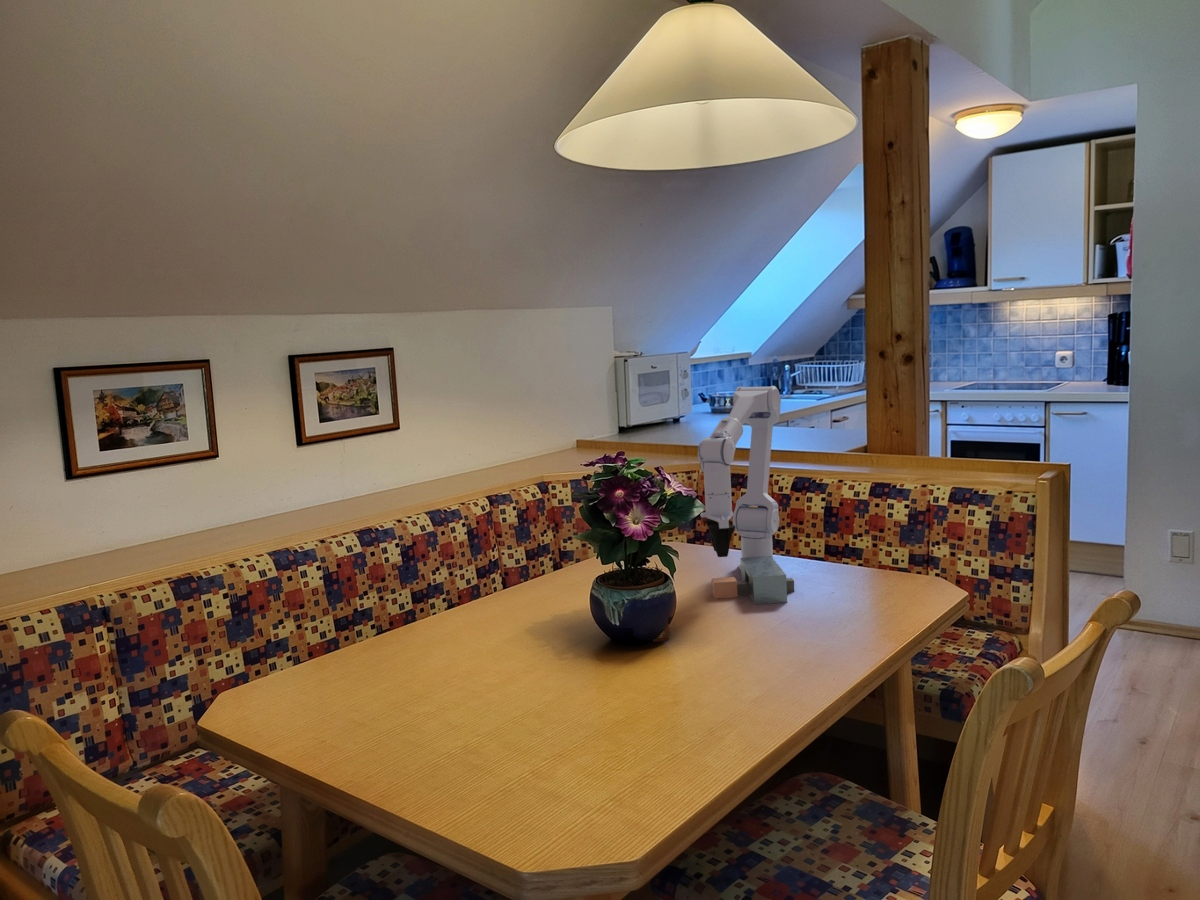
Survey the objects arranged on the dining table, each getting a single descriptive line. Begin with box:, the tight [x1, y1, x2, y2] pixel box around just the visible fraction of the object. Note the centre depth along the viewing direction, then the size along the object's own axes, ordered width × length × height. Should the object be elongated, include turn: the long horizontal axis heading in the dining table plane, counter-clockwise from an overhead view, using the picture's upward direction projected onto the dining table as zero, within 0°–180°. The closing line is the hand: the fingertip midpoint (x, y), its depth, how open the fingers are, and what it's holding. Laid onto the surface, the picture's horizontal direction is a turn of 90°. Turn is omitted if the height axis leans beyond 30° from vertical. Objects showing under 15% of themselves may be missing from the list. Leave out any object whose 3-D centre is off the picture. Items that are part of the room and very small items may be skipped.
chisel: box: [711, 576, 795, 599], centre depth 203 cm, size 4×18×4 cm, turn 92°
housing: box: [739, 556, 788, 605], centre depth 203 cm, size 16×7×6 cm, turn 1°
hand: (720, 553), depth 202 cm, fingers open, 5 cm apart
